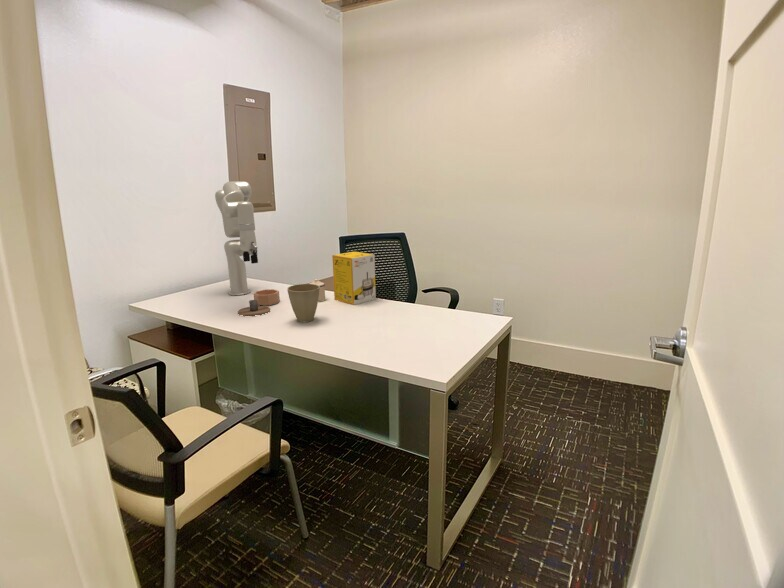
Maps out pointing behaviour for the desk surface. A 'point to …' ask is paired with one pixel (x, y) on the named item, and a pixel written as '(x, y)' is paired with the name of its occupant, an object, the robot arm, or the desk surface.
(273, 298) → the bowl
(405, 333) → the desk surface
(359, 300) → the packaging box
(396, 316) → the desk surface
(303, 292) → the plant pot
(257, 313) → the lid
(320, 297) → the teacup with lid
